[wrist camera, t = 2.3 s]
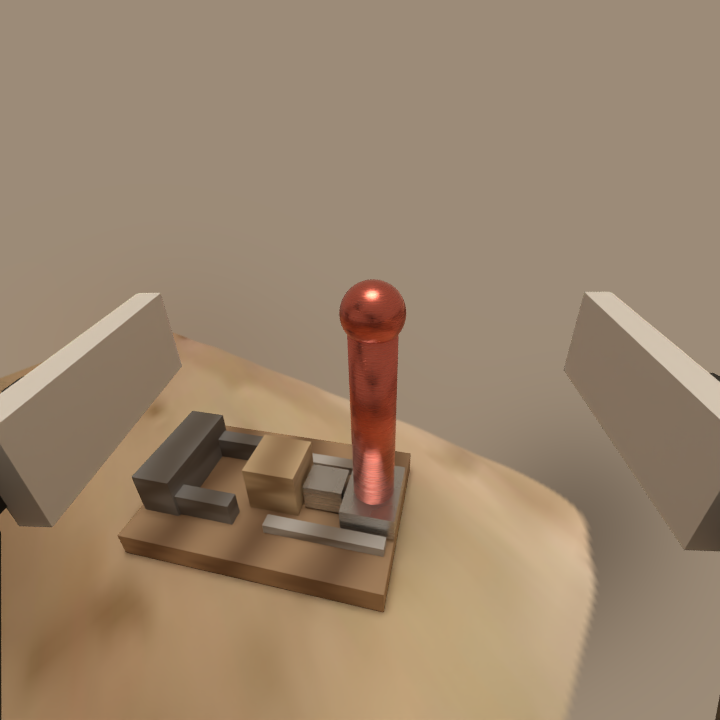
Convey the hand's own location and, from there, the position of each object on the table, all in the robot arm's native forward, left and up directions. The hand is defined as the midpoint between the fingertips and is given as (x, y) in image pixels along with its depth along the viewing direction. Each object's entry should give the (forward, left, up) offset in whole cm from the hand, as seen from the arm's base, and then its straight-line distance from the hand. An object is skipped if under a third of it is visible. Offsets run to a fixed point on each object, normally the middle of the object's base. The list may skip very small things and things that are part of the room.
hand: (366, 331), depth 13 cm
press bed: (-10, +10, -22) cm, 26 cm away
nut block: (-9, +10, -21) cm, 24 cm away
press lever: (-3, +10, -20) cm, 23 cm away
